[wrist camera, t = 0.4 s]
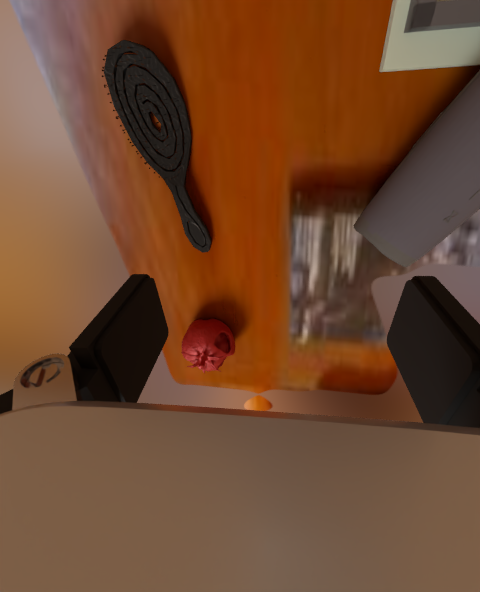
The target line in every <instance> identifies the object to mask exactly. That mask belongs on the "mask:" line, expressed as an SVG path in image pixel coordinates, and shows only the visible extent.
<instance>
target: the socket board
mask: <svg viewBox="0 0 480 592" xmlns="http://www.w3.org/2000/svg"><path fill="white" fill-rule="evenodd" d="M474 65H480V0H393V3H392V8H391V13H390V19H389V24H388V29H387V34H386V39H385V45H384V50H383V55H382V60H381V65H380V71H379V72H389V71H403V70H417V69H431V68H446V67H460V66H474Z"/></svg>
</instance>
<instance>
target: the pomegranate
mask: <svg viewBox="0 0 480 592" xmlns="http://www.w3.org/2000/svg"><path fill="white" fill-rule="evenodd" d="M234 352H235V339H234V337H233V334H232V332H231V330H230V329H229V327H228V326H227V325H226V324H224V323H223V322H221V321H219V320H217V319H209V320H203V319H198V320H196V321H193V322H192V323H191V325H190V326H189V328H188V330H187V332H186V334H185V336H184V338H183V341H182V354H183V356H184V358H185V359H186V360H188V361H190V362H191V363H193V364H194V365H192V366H187V367H191V368H193V367H196V366H197V367H199V369H200V370H201V369H202V370H203V372H204V373H205V371H211V370H218V368H219V367H220V366H222V364H223V362H224V360H225V359H226V357H227V356H230V355H233V354H234ZM219 371H220V370H219Z"/></svg>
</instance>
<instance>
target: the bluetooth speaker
mask: <svg viewBox="0 0 480 592" xmlns="http://www.w3.org/2000/svg"><path fill="white" fill-rule="evenodd" d="M479 209H480V70H479V71H478V73H477V74H476V75H475V76H474V77H473V78H472V79H471V81H470V82H469V83H468V84H467V85H466V86H465V87H464V89H463V90H462V91H461V92H460V93H459V94H458V95H457V97H456V98H455V99H454V100H453V101H452V102H451V103H450V104H449V105H448V106H447V107H446V109H445V110H444V111H443V112H441V114H440V115H439V116H438V117H437V118H436V120H435V121H434V122H433V123H432V124H431V125H430V127H429V128H428V129H427V130H426V131H425V133H424V134H423V135H422V136H421V137H420V139H419V140H418V141H417V143H415V145H414V146H413V148H412V149H411V150H410V151H409V153H408V154H407V156H406V157H405V158H404V160H403V161H402V162H401V163H400V164H399V166H398V167H397V168H396V169H395V171H394V172H393V173H392V174H391V176H390V177H389V178H388V179H387V181H386V182H385V184H384V185H383V186H382V187H381V189H380V190H379V191H378V193H377V194H376V195H375V196H374V198H373V199H372V200H371V202H370V203H369V204H368V205H367V207H366V208H365V210H364V211H363V212H362V214H361V215H360V217H359V218H358V220H357V221H356V223H355V224H354V228H355V230H356V231H358V232H359V233H361V234H362V235H363V236H364V237H365V238H366V239H368V240H369V241H370V242H371V243H372V244H373V245H374V246H375V247H376V248H377V249H378V250H379V251H380V252H381V253H383V254H384V255H385V256H387V257H388V258H390V259H391V260H393V261H394V262H396V263H398V264H400V265H402V266H404V267H408V266H410V265H411V264H413V263H414V262H415V261H417V260H418V259H420V258H421V257H422V256H424V255H425V254H426V253H428V252H429V251H430V250H432V249H433V248H434V247H435V246H436V245H438V244H439V243H440V242H441V241H442V240H443V239H445V238H446V237H447V236H448V235H449V234H451V233H452V232H453V231H454V230H455V229H457V228H458V227H459V226H460V225H461V224H463V223H464V222H465V221H466V220H467V219H468V218H470V217H471V216H472V215H473V214H474V213H475V212H477V211H478V210H479Z"/></svg>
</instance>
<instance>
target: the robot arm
mask: <svg viewBox="0 0 480 592" xmlns="http://www.w3.org/2000/svg"><path fill="white" fill-rule="evenodd" d="M167 337H168V327H167V323H166V320H165V316H164V313H163V309H162V305H161V302H160V298H159V295H158V291H157V288H156V284H155V281H154V279H153V278H150V276H149V275H147V274H133V275H131V276H130V278H129V279H128V280H127V281H126V282H125V283H124V284H123V286H122V287H121V288H120V289H119V290H118V292H117V293H116V294H115V295H114V296H113V297H112V298H111V299H110V301H109V302H108V303H107V304H106V305H105V306H104V308H103V309H102V310H101V311H100V312H99V313H98V315H97V316H96V317H95V318H94V319H93V320H92V321H91V323H90V324H89V325H88V326H87V327H86V328H85V329H84V331H83V332H82V333H81V334H80V335H79V337H78V338H77V339H76V340H75V341H74V342H73V343H72V345H71V346H70V347H69V348H70V350H71V352H70V354H69V355H68V356H66V355H64V354H50V355H47V356H44V357H41V358H39V359H37V360H35V361H33V362H32V363H30V364H29V365H27V366H26V367H25V368H24V369H23V370H21V371H20V372H19V374H18V375H17V377H16V378H15V381H14V388H13V389H12V390H10V391H8V392H6V393H4V394H1V395H0V592H480V324H479V323H478V322H477V321H476V320H475V319H474V318H473V317H472V316H471V315H470V314H469V313H468V312H467V310H466V309H464V307H463V306H462V305H461V304H460V303H459V302H458V301H457V300H456V299H455V298H454V296H452V295H451V293H450V292H449V291H448V290H447V289H446V288H445V287H444V286H443V285H442V284H441V283H440V282H439V280H437V278H435V277H433V276H414V277H413V278H412V279H411V280H408V281H407V282H406V284H405V287H404V289H403V292H402V296H401V298H400V301H399V304H398V307H397V310H396V312H395V315H394V318H393V322H392V324H391V327H390V330H389V333H388V336H387V345H388V347H389V350H390V352H391V354H392V356H393V358H394V360H395V362H396V365H397V367H398V369H399V371H400V373H401V375H402V377H403V380H404V382H405V384H406V386H407V388H408V390H409V392H410V394H411V397H412V399H413V401H414V403H415V405H416V407H417V409H418V411H419V414H420V416H421V418H422V420H423V422H424V423H418V422H405V421H392V420H378V419H365V418H352V417H339V416H325V415H311V414H297V413H283V412H282V413H281V412H269V411H254V410H240V409H225V408H209V407H194V406H178V405H162V404H148V403H137V401H138V399H139V396H140V394H141V392H142V390H143V388H144V386H145V384H146V382H147V379H148V377H149V375H150V373H151V371H152V369H153V367H154V365H155V363H156V361H157V358H158V356H159V354H160V352H161V350H162V348H163V346H164V344H165V342H166V340H167Z"/></svg>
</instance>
